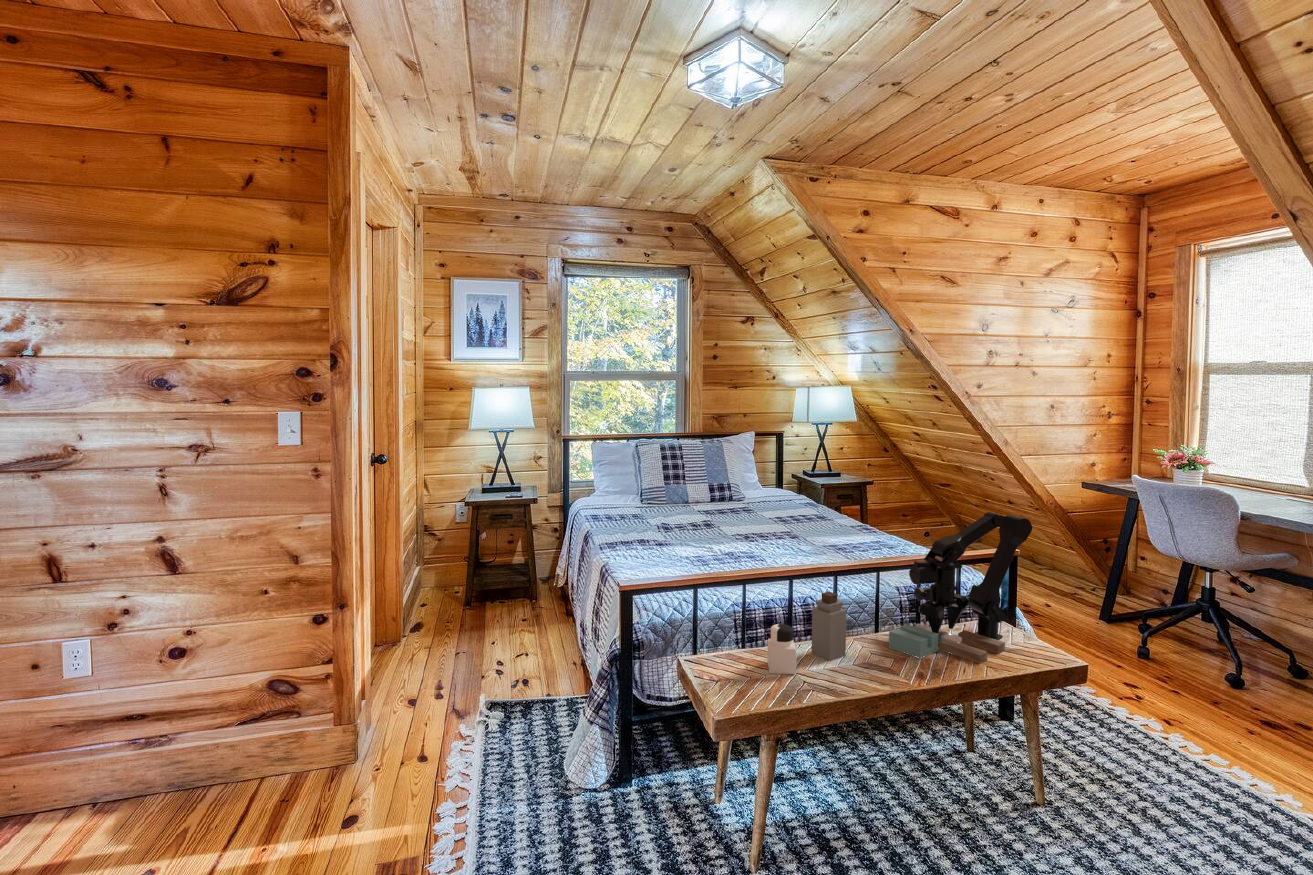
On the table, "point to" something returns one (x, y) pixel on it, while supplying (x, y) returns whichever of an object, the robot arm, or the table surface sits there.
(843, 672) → the table surface
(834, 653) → the perfume bottle
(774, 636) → the medicine bottle
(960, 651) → the walnut beams
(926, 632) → the v-block
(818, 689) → the table surface
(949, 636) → the steel shaft
